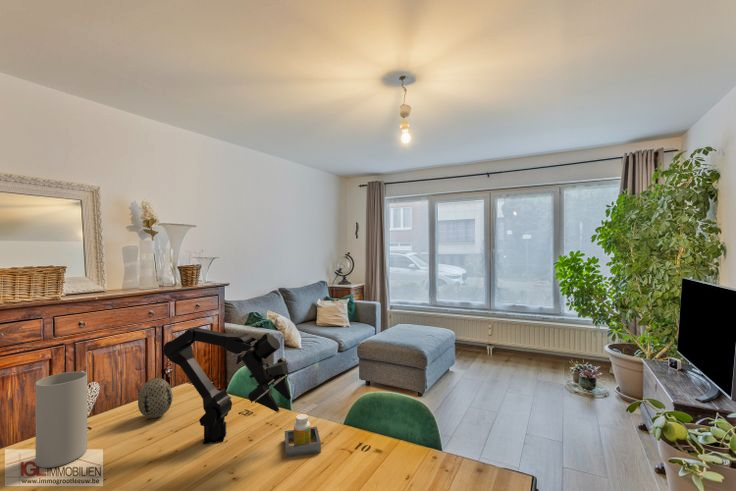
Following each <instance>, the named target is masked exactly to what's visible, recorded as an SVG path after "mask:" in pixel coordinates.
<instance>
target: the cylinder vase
mask: <svg viewBox="0 0 736 491" xmlns="http://www.w3.org/2000/svg"><path fill="white" fill-rule="evenodd" d="M87 450H88V373H87V372H86V371H69V372H68V371H67V372H61V373H55V374H52V375H49V376H45V377H43V378H40V379H38V380H37V381H36V382H35V465H36V466H37V467H39V468H41V469H48V468H49V469H50V468H56V467H57V468H58V467H61V466H64V465H67V464H69V462H70V463H72V462H74V461H76V460H77V458H78V459H80V458H81V457H82V456H83V455H85V453H87ZM75 459H76V460H75ZM73 460H74V461H73ZM71 461H72V462H71Z"/></svg>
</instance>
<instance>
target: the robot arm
mask: <svg viewBox="0 0 736 491" xmlns="http://www.w3.org/2000/svg"><path fill="white" fill-rule="evenodd" d="M196 342H198V343H199V342H200V343H204V344H209V345H213V346H218V347H222V348H223V349H225V350H226V351H227V352H229V353H232V354H234V355H237V356H236V357H237V359H236V362H235V363H236V365H239V364H241V363H243V364H244V365H245V367H246V369H247V370H248V372H249V373H250V375H249V378H250V379H254V380H255V382H256V383H257V385H256V386H255V388H254V389H252V390H251V391H250V392H249V393H248V395H247V396H248V397H247V399H248V401H249V402H250V403H251V404H252V403H253V402H254V404H256V403H257V404H259V405H261V406H264V407H266V408H268V409H270V410H272V411H274V412H276V413H278V412H279V411H280V407H279V406H278V404H277V402H276V401H275V398H274V397H273V395H272V391H273V389H274V390H275V391H276V392H278V393H279V394H280V395H282V397H284V398H285V399H286V400H287V401H290V400H291V399H292V396H291V393H290V390H289V387H288V383H287V382H288V381H287V380H288V377H289V374H290V372H289V369H288V365H289V362H288V361H287V359H285V358H284V357H280V358H279V359H277V361H276V362H275V363H274V364H271V362H269V361H267V362H266V361H265V360H266V359H268V358H270V357H271V356H272V355H273V354H275V352H277V351H278V350H279V349H280V348H281V343H280V341H279V339H278V338H276V337H275V336H274V335H272V334H270V333H269V332H266V333H264V334H263V335H262V336H261V337H260V338H256V337H254V336H251V335H250V333H247V332H234V333H225V332H221V331H216V330H211V329H207V328H201V327H199V326H195V327H191V328H188V329H187V330H185V331H184V332H182V334H180V335H178V336H177V337H175V338H174V339H172V340H170V341H166V343H165V344H164V345H163V349H162V351H163V354H164V356H165V358H167V359H168V360H169V361H170V362H171V363H174V364H175V365H177V366H179V367H180V368H181V370H182V371H183V373H184V374H185V375H186V377H187V378H188V380H189V381H190V383H191V384H192V385H193V387H194V388H195V390H196V392H197V393H198V394H199V396H200V397H201V399H202V405H203V406H202V408H203V410H204V412H205V413H204V414H203V415H202V416H201V417H200V418H199V419H198V420H199V423H200V426H201V427H202V426H203V441H202V444H203V445H207V444H215V443H222V442H224V440H225V437H226V436H227V421H225V419H226V418H225V417H227V416H228V415H229V412H230V411H231V410H232V407H233V402H232V400H231V399H232V397H231V396H230V395H229V394H228V392H227V390H225V389H222V390H221V391H220V390H219V389H217V388H216V387H215V385H214V384H213V382H211V380H210V379H209V377H208V376H207V374H206V373H205V371H204V369H202V367H201V366H200V364H199V363H198V362H197V360H196V359H195V357H194V353H193V352H194V351H193V350H194V349H193V347H192V345H193V344H194V343H196ZM251 349H253V350H251ZM243 352H244V353H243ZM242 353H243V354H242ZM271 386H272V388H270V387H271Z"/></svg>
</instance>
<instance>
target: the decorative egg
mask: <svg viewBox="0 0 736 491" xmlns="http://www.w3.org/2000/svg"><path fill="white" fill-rule="evenodd" d="M173 397H174V396H173V390H172V387H171V385H170V384H169V382H168V381H166V380H165V379H163V378H161V377H154V378H151V379H149V380H148V381H147V382H146V383H144V385H143V386H142V387H141V389H140V391H139V394H138V398H137V406H138V410H139V412H140V414H142V415H143V416H144V417H146V418H149V419H157V418H159V417H161V416H163V415H165V414H166V413H167V412H168V410H169V409H170V407H171V405H172V403H173Z"/></svg>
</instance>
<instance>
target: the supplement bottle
mask: <svg viewBox="0 0 736 491" xmlns="http://www.w3.org/2000/svg"><path fill="white" fill-rule="evenodd" d="M310 428H311V422H310V421H309V416H308V414H305V413H301V414H298V415H296V416H295V423H294V425H293V430H294V440H293V445H299V444H306V443H311V438H310Z"/></svg>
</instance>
